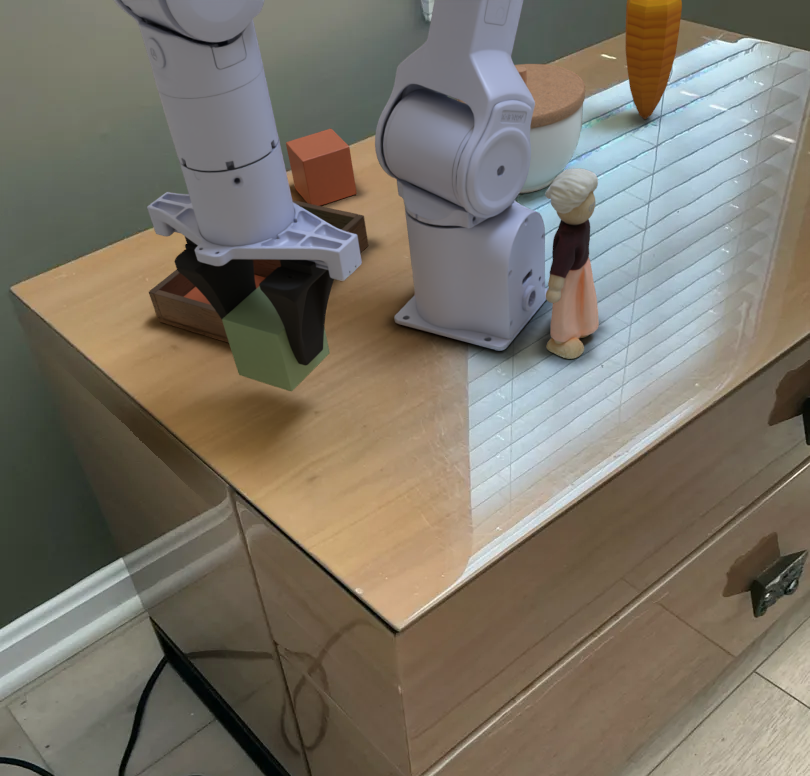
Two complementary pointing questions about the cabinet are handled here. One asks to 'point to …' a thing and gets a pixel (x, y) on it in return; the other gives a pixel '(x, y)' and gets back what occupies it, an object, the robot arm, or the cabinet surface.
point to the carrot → (650, 49)
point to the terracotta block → (321, 167)
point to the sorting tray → (195, 313)
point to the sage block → (265, 344)
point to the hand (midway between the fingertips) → (279, 346)
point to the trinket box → (552, 120)
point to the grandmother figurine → (572, 263)
